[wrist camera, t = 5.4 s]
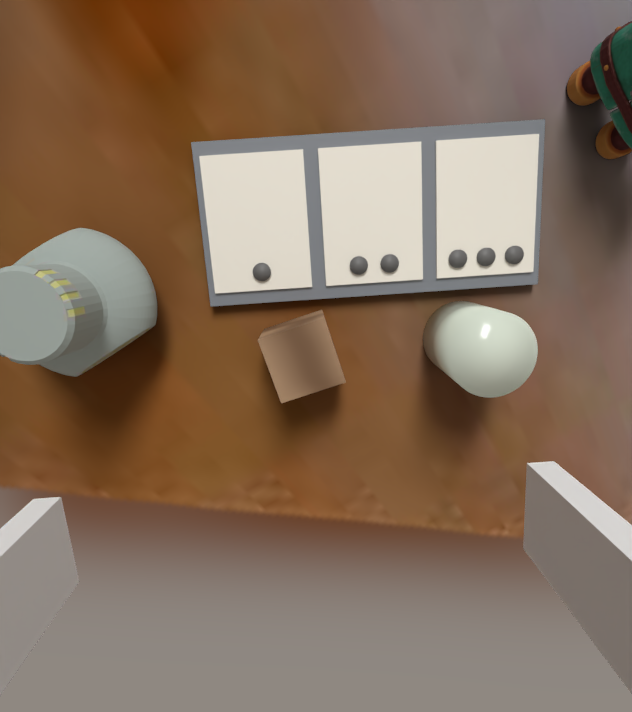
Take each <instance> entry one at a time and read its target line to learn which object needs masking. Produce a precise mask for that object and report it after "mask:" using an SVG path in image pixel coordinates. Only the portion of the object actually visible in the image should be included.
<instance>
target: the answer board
mask: <svg viewBox="0 0 632 712" xmlns="http://www.w3.org/2000/svg"><path fill="white" fill-rule="evenodd" d="M544 134H545V119H542V120H527V121H512V122H496V123H481V124H466V125H450V126H435V127H419V128H404V129H389V130H373V131H358V132H343V133H327V134H312V135H297V136H281V137H266V138H250V139H235V140H220V141H204V142H191V145H192V153H193V161H194V170H195V178H196V187H197V195H198V204H199V212H200V221H201V229H202V237H203V246H204V254H205V263H206V271H207V280H208V288H209V296H210V305H211V306H225V305H240V304H254V303H269V302H284V301H298V300H313V299H328V298H342V297H357V296H372V295H386V294H401V293H416V292H430V291H445V290H460V289H474V288H489V287H504V286H518V285H533V284H538V268H539V246H540V223H541V201H542V179H543V157H544Z"/></svg>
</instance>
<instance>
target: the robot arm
mask: <svg viewBox="0 0 632 712" xmlns="http://www.w3.org/2000/svg"><path fill="white" fill-rule="evenodd" d="M523 549H524V550H525V552H526V553H527V554H528V556H529V557H530V558H531V560H532V561H533V562H534V564H535V565H536V566H537V568H538V569H539V570H540V572H541V573H542V574H543V576H544V577H545V578H546V580H547V581H548V582H549V584H550V585H551V586H552V588H553V589H554V591H555V592H556V593H557V595H558V596H559V597H560V598H561V600H562V601H563V603H564V604H565V605H566V606H567V608H568V609H569V611H570V612H571V613H572V615H573V616H574V617H575V619H576V620H577V621H578V623H579V624H580V625H581V627H582V628H583V629H584V631H585V632H586V633H587V635H588V636H589V637H590V639H591V640H592V641H593V643H594V644H595V645H596V647H597V648H598V650H599V651H600V652H601V654H602V655H603V656H604V658H605V659H606V660H607V661H608V663H609V664H610V666H611V667H612V668H613V670H614V671H615V672H616V674H617V675H618V676H619V678H620V679H621V680H622V682H623V683H624V684H625V686H626V687H627V688H628V690H629V691H630V692H631V694H632V525H631V524H630V523H628V522H627V521H626V520H625V519H623V518H622V517H621V516H620V515H619V514H617V513H616V512H615V511H614V510H613V509H611V508H610V507H609V506H608V505H606V504H605V503H604V502H603V501H602V500H600V499H599V498H598V497H597V496H596V495H594V494H593V493H592V492H591V491H589V490H588V489H587V488H586V487H585V486H583V485H582V484H581V483H580V482H579V481H577V480H576V479H575V478H574V477H572V476H571V475H570V474H569V473H568V472H566V471H565V470H564V469H563V468H562V467H560V466H559V465H558V464H557V463H555V462H554V461H551V462H537V463H527V476H526V499H525V523H524V546H523ZM78 583H79V578H78V574H77V569H76V564H75V559H74V555H73V550H72V546H71V541H70V536H69V532H68V527H67V522H66V518H65V513H64V508H63V504H62V499H61V497H54V498H40V499H33V500H32V501H31V502H30V503H29V504H27V505H26V506H25V507H24V508H23V509H22V510H21V511H20V512H18V514H16V515H15V516H14V517H13V518H12V519H11V520H10V521H9V522H7V523H6V524H5V525H4V526H3V527H2V528H1V529H0V695H1V694H2V692H3V691H4V689H5V688H6V686H7V685H8V684H9V682H10V681H11V679H12V678H13V676H14V675H15V674H16V672H17V671H18V669H19V668H20V666H21V665H22V663H23V662H24V661H25V659H26V658H27V656H28V655H29V653H30V652H31V651H32V649H33V648H34V646H35V645H36V643H37V642H38V640H39V639H40V637H41V636H42V635H43V633H44V632H45V630H46V629H47V627H48V626H49V624H50V623H51V622H52V620H53V619H54V617H55V616H56V615H57V613H58V612H59V610H60V609H61V607H62V606H63V604H64V603H65V602H66V600H67V599H68V597H69V596H70V594H71V593H72V591H73V590H74V589H75V587H76V586H77V584H78Z"/></svg>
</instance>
